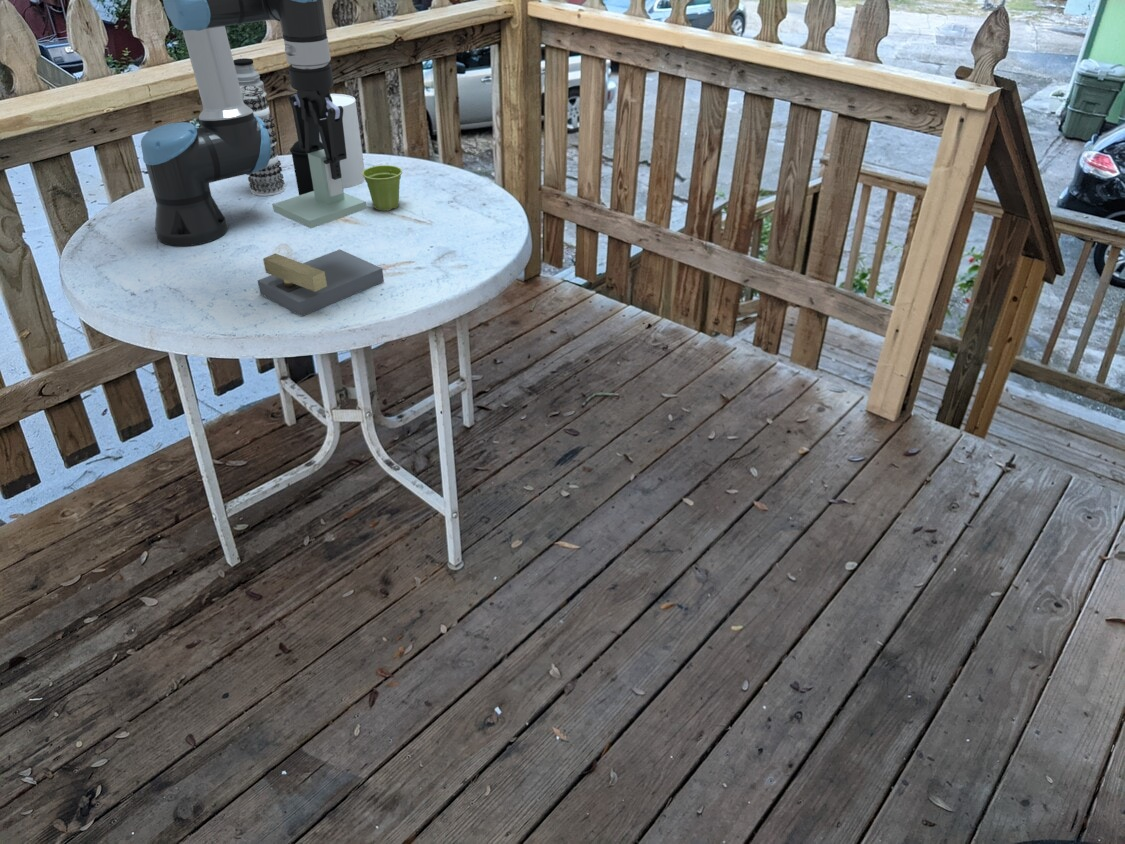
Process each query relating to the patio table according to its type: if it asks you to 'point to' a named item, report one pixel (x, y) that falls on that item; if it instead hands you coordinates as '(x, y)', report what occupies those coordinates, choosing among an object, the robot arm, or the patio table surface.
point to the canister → (350, 141)
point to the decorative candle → (270, 176)
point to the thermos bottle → (247, 73)
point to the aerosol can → (302, 169)
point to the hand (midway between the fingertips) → (328, 190)
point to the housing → (341, 278)
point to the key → (295, 272)
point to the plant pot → (383, 185)
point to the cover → (318, 199)
